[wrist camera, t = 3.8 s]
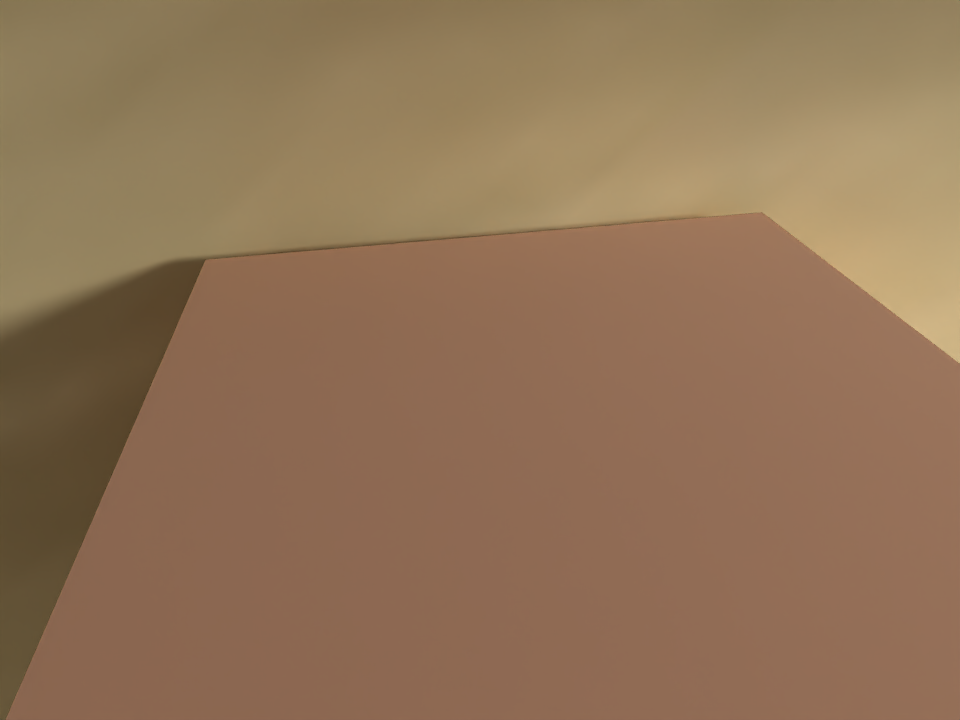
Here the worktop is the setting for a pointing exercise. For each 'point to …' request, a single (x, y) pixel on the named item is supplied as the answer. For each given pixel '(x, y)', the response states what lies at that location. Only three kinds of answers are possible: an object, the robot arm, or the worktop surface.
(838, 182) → the worktop surface
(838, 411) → the terracotta block
